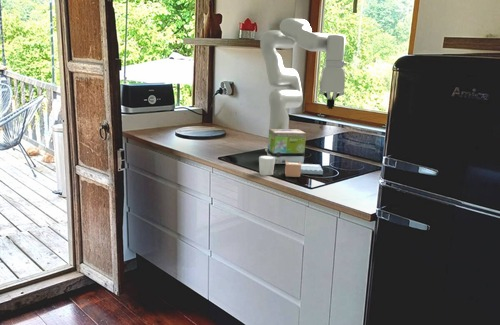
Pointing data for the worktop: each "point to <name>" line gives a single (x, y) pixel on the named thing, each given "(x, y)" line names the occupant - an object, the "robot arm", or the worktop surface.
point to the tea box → (286, 145)
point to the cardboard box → (293, 169)
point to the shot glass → (266, 165)
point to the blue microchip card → (311, 169)
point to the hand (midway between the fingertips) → (330, 108)
